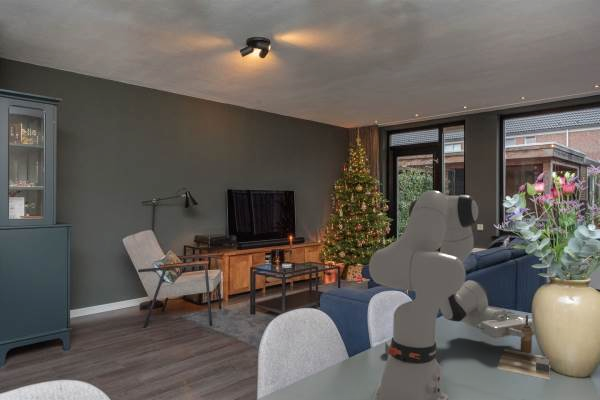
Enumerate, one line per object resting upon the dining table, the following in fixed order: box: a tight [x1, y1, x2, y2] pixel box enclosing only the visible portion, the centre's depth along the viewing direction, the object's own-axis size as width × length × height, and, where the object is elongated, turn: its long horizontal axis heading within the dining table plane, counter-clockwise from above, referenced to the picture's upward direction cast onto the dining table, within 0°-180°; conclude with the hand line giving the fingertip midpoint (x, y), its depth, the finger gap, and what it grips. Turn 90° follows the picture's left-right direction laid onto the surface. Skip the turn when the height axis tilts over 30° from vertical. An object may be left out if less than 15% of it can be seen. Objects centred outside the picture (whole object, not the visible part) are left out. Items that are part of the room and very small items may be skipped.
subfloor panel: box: [496, 348, 551, 381], centre depth 135 cm, size 20×14×1 cm
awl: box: [520, 314, 533, 354], centre depth 140 cm, size 3×3×12 cm
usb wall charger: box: [384, 341, 391, 358], centre depth 143 cm, size 4×7×4 cm, turn 92°
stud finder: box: [536, 355, 550, 372], centre depth 132 cm, size 6×4×2 cm, turn 149°
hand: (528, 334), depth 139 cm, fingers closed on awl, 3 cm apart
